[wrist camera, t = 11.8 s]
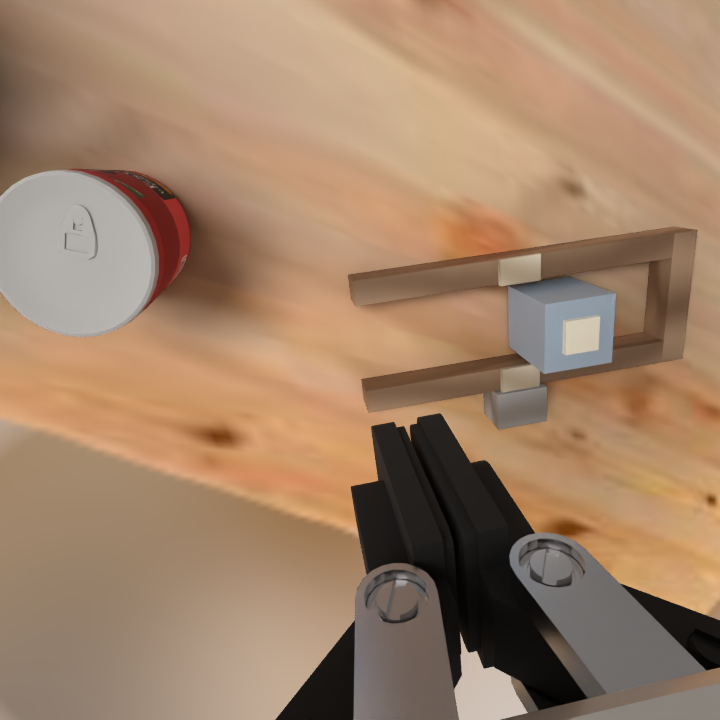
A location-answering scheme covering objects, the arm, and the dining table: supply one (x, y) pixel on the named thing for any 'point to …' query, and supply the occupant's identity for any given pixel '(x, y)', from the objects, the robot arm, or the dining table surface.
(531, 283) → the block
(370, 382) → the beam slot
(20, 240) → the canned food
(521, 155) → the dining table surface
